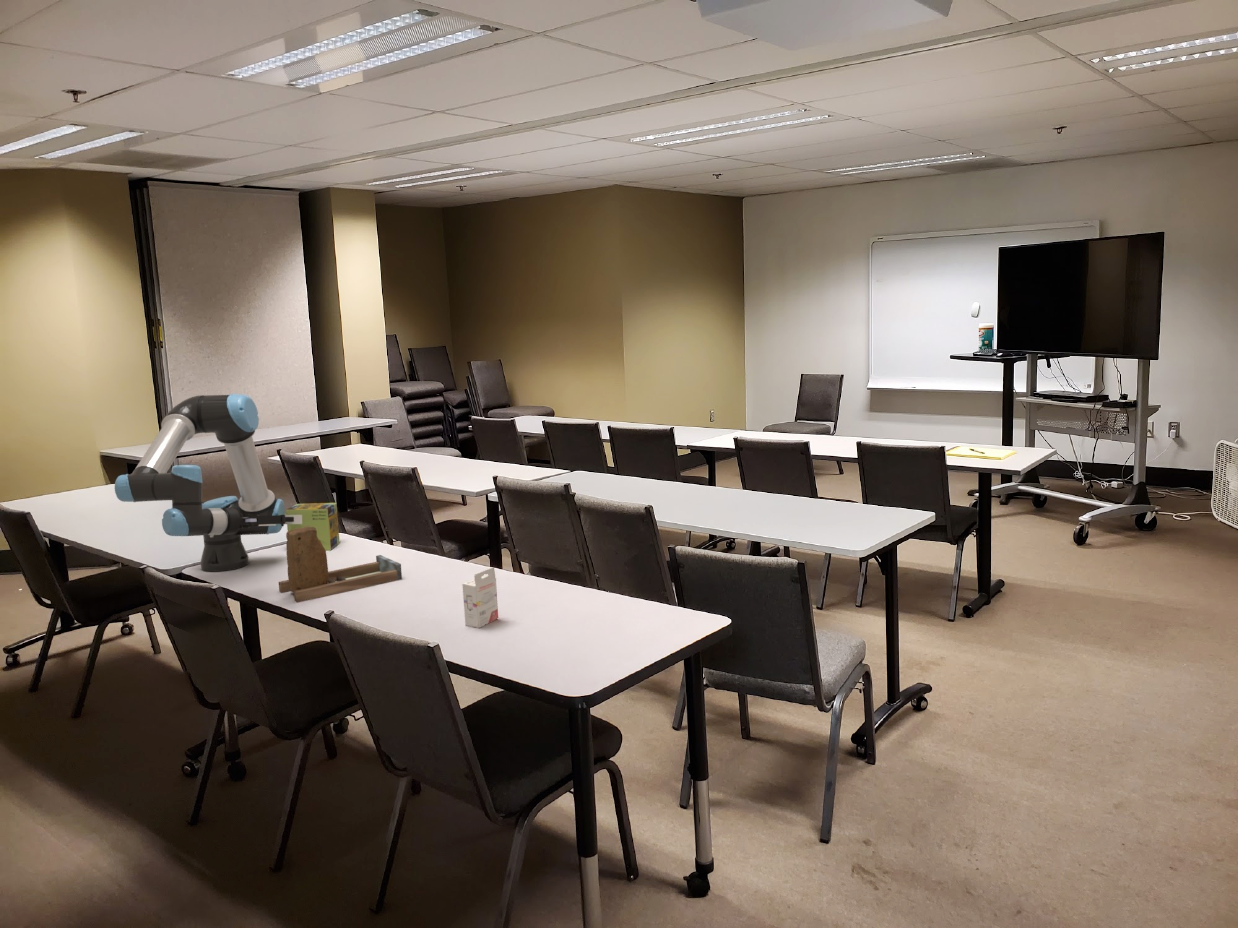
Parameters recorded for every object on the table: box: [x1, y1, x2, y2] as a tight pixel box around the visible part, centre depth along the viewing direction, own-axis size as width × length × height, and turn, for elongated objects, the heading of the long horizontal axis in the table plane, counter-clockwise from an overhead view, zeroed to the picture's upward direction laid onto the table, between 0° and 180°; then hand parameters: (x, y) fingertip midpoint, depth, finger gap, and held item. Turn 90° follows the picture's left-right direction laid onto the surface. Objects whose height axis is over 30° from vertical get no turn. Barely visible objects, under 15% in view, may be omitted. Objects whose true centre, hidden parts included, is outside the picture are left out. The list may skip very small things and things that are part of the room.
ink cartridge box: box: [462, 567, 499, 629], centre depth 248 cm, size 9×5×15 cm, turn 148°
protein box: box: [285, 502, 341, 552], centre depth 334 cm, size 10×15×16 cm
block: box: [285, 526, 329, 594], centre depth 279 cm, size 11×8×20 cm
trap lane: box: [278, 554, 403, 603], centre depth 287 cm, size 15×34×5 cm, turn 129°
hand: (288, 520), depth 277 cm, fingers open, 13 cm apart
